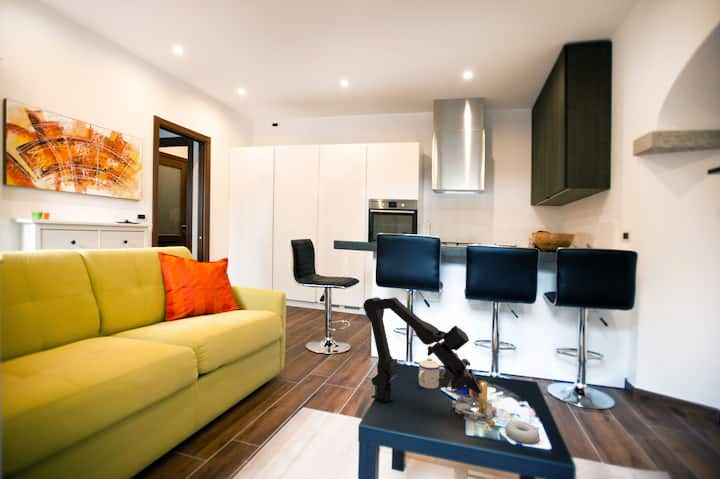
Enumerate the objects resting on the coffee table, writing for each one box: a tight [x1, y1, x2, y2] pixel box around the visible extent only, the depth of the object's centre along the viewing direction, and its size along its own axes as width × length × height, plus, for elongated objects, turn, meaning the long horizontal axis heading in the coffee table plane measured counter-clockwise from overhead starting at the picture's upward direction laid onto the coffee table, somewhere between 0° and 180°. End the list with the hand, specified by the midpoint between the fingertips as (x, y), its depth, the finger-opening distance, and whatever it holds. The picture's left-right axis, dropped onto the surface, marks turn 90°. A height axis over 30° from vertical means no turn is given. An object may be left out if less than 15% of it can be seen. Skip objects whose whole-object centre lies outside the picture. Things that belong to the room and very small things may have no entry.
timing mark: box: [484, 418, 496, 426], centre depth 124 cm, size 2×2×1 cm
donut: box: [505, 420, 540, 444], centre depth 117 cm, size 10×4×10 cm
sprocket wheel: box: [451, 380, 497, 420], centre depth 132 cm, size 15×15×12 cm
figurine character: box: [447, 376, 485, 399], centre depth 149 cm, size 7×8×15 cm
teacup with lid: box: [418, 357, 441, 390], centre depth 156 cm, size 12×9×12 cm
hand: (479, 392), depth 126 cm, fingers closed
